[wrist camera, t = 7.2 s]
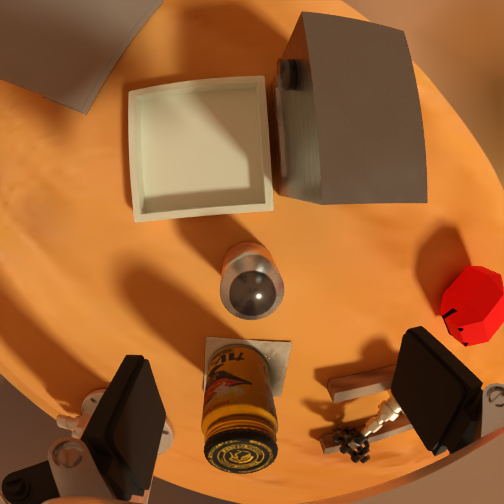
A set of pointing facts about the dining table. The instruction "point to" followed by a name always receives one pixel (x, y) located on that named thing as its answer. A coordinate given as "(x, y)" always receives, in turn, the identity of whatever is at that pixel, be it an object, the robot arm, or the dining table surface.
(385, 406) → the valve
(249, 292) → the cylinder
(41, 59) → the cassette tape recorder
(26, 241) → the dining table surface
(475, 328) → the ball
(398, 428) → the valve rest
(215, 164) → the tray
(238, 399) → the condiment
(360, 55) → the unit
